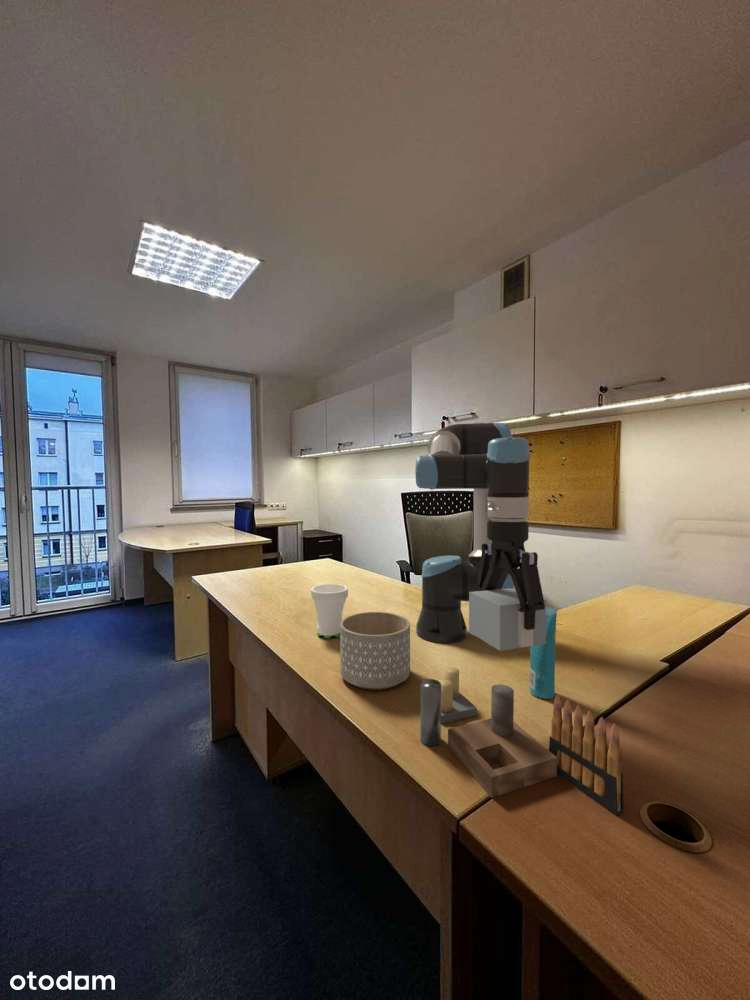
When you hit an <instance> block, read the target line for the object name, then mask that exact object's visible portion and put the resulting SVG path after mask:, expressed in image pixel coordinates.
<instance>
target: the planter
mask: <svg viewBox="0 0 750 1000" xmlns="http://www.w3.org/2000/svg"><path fill="white" fill-rule="evenodd" d="M339 638H340V641H339V642H340V644H339V645H340V646H339V650H340V651H339V652H340V654H339V657H340V660H339V661H340V664H339V665H340V676H341V677H342V679H344V681H346V682H347V683H349V684H351V685H353V686H354V687H357V688H360V689H364V690H370V691H371V690H373V691H377V690H387V689H391V688H393V687H396V686H397V685H399V684H401V683H403V682H404V681H406V680H407V679H408V678H409V677H410V676H411V675H410V674H411V622H410V620H409V619H408V618H406V617H405V616H403V615H400V614H396V613H394V612H386V611H367V612H366V611H365V612H359V613H355V614H351V615H348V616H345V617H344V618H342V621H341V623H340V636H339Z"/></svg>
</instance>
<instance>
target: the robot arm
mask: <svg viewBox="0 0 750 1000" xmlns="http://www.w3.org/2000/svg"><path fill="white" fill-rule="evenodd" d="M427 450H428V451H427V452H428V454H425V455H424V454H423V455H419V456H417V457H416V460H415V467H414V469H415V470H414V471H415V473H414V475H415V484H416V486H417V487H418V488H419V489H424V490H425V489H427V490H432V491H433V490H453V489H454V490H455V489H456V490H457V489H459V490H461V489H462V490H463V489H464V490H467V489H468V490H473V550H472V551H471V552H470V553H469V554H468V561H463V560H462V557H461V556H459V555H450V554H449V555H439V556H434V557H430V558H428V559H426V560H424V561H423V563H422V568H421V569H422V572H421V578H422V579H421V580H422V581H421V582H422V585H421V587H422V588H421V598H422V599H421V610H420V613H419V616H418V619H417V623H416V633H415V634H416V635H417V636H418V637H419V638H420V639H423V640H425V641H429V642H434V643H440V644H441V643H443V644H444V643H445V644H447V643H457V642H460V641H464V640H465V639H467V636H468V633H467V631H468V630H467V629H468V628H467V624H466V621H465V618H464V615H463V612H462V602H469V592H475V591H486V590H497V589H509V588H512V589H515V590H516V593H517V596H518V599H519V602H520V605H521V608H520V609H518V646H519V647H522V648H528V647H527V646H529V647H530V646H533V629H534V628H535V612H536V611H537V610H543V609H545V604H544V600H545V599H544V593H543V590H542V588H543V587H542V584H541V579H540V573H539V568H538V559H539V558H538V557H539V555H538V553H537V552H536V551H535V552H534V551H533V552H532V551H531V552H529V551H526V548H525V543H526V542H527V541H528V540H529V531H530V529H529V522H528V521H526V520H527V519H529V517H530V497H529V495H530V494H529V487H530V486H529V485H530V459H531V454H530V443H529V440H528V439H527V438H525V437H516V436H515V437H513V435H512V431H511V428H510V427H509V425H508V424H507V423H504V422H493V421H492V422H480V423H479V422H477V423H476V422H475V423H455V424H454V423H453V424H452V425H447V426H445V427H442V428H441V429H439V430H437V431H436V432H434V433H433V434H432V435H431V436H430V438H429V441H428V443H427ZM527 602H528V604H527ZM536 602H537V603H536Z"/></svg>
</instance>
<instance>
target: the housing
mask: <svg viewBox="0 0 750 1000" xmlns="http://www.w3.org/2000/svg"><path fill="white" fill-rule="evenodd" d="M536 603H537V602H536ZM527 604H528V602H527ZM544 604H545V609H543V610H537V611H536V612H535V628H534V629H533V646H536V645H543V644H546V607H547V600H546V599H544ZM520 608H521V605H520V602H519V599H518V596H517V593H516V590H515V588H513V589H512V588H509V589H497V590H486V591H475V592H469V601H468V632H469V634H472V635H473V636H475V637H477V638H478V639H480V640H482V641H483V642H485V643H486V644H488V645H489V646H491V647H493V648H494V649H496V650H498V651H499V652H500V651H502V652H503V651H507V650H513V649H515V650H516V649H521V648H523V647H519V646H518V609H520ZM528 647H529V648H530V646H527V647H526V648H528Z"/></svg>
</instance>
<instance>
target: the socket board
mask: <svg viewBox="0 0 750 1000" xmlns="http://www.w3.org/2000/svg"><path fill="white" fill-rule="evenodd" d="M514 692H515V691H514V689H513V688H512V687H510V686H508V685H506V684H495V685H492V686H491V704H490V705H491V708H490V709H491V713H490V714H491V716H490V717H491V718H487V719H483V720H479V721H475V722H472V723H467V724H463V725H459V726H458V725H457V726H454V727H451V728H447V747H448V748H449V749H450V750H451V752H452V753H453V754H454V755H455V756H456V758H457V759H458V760H459V761H460V763H462V765H463V766H464V767H465V768H466V770H467V771H468V772H469V774H471V776H472V777H473V778H474V780H476V781H477V783H478V784H479V785H480V786H481V787H482V788H483V790H484V791H485V792H486V794H488V796H489V797H490V798H491V799H494V798H496V797H499V796H502V795H505V794H508V793H511V792H514V791H517V790H520V789H523V788H526V787H530V786H533V785H536V784H539V783H541V782H544V781H548V780H550V779H551V780H552V779H554V778H557V777H558V774H557V757H556V756H555V755H554V754H552V753H551V752H550V751H549V749H548V748H546V747H545V746H544V745H542V743H541V742H539V741H538V740H537V739H535V738H534V736H532V735H530V733H528V732H527V731H526V730H525V729H523V727H521V726H520V725H518V724H517V723H516V722H515V721H514V716H515V715H514V709H515V707H514V704H515V700H514V699H515V693H514ZM497 763H500V764H501V765H502V767H498V768H495V769H493V767H492V766H491V765H492V764H497Z"/></svg>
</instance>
